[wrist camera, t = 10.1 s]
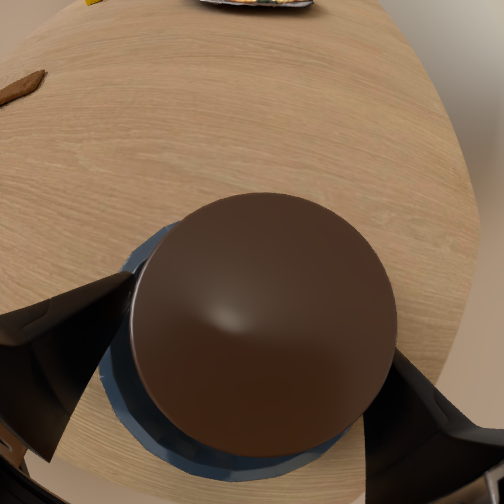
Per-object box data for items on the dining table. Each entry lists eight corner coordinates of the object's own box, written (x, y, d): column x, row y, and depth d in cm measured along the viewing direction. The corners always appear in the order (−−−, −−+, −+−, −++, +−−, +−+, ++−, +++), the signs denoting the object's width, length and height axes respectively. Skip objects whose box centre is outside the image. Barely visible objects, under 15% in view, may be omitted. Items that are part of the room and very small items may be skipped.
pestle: (270, 370, 15) (438, 463, 2) (196, 371, 15) (82, 492, 2) (268, 299, 17) (409, 156, 3) (196, 299, 16) (96, 141, 3)
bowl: (346, 425, 15) (382, 447, 10) (144, 447, 13) (120, 478, 8) (323, 237, 19) (352, 205, 14) (128, 250, 17) (99, 220, 13)
